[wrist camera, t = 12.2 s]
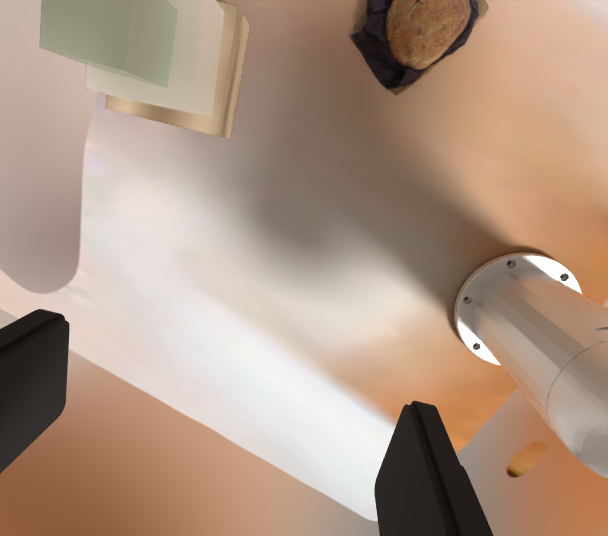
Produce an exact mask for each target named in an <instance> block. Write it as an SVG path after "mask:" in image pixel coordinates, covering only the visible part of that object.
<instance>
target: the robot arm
mask: <svg viewBox="0 0 608 536" xmlns="http://www.w3.org/2000/svg"><path fill="white" fill-rule="evenodd" d="M508 261H509V263H508V264H507V262H508ZM465 297H467V298H466V299H464V298H465ZM454 321H455V326H456V329H457V332H458V334H459V336H460V338H461V339H462V341H463V342H464V344H465V345H466V346H467V347H468V349H469V350H470V351H471V352H472V353H474V354H475V355H477V356H478V357H479V358H481V359H483V360H485V361H488V362H490V363H494V364H498V365H501V367H502V368H503V369H504V370H505V372H506V373H507V374H508V375H509V377H510V378H511V379H512V380H513V382H514V383H515V384H516V385H517V387H518V388H519V389H520V390H521V392H522V393H523V394H524V395H525V397H526V398H527V399H528V400H529V401H530V403H531V404H532V405H533V407H534V408H535V409H536V410H537V412H538V413H539V414H540V415H541V416H542V418H543V419H544V420H545V422H546V423H547V424H548V425H549V427H550V428H551V429H552V430H553V432H554V433H555V434H556V435H557V436H558V437H559V439H560V440H561V441H562V442H563V444H564V445H565V446H566V447H567V448H568V450H569V451H570V452H571V453H572V454H573V455H574V456H575V457H576V458H577V459H578V460H580V461H581V462H582V463H583V464H584V465H586V466H587V467H589V468H590V469H592V470H593V471H595V472H597V473H598V474H600V475H602V476H604V477H606V478H608V308H606V307H605V306H603V305H601V304H599V303H598V302H596V301H594V300H592V299H590V298H589V297H587V296H585V295H583V294H582V292H581V289H580V286H579V283H578V281H577V280H576V278H575V277H574V275H573V274H572V273H571V272H570V271H569V270H568V269H567V268H566V267H565V266H564V265H562V264H560V263H559V262H557V261H556V260H553V259H551V258H549V257H547V256H544V255H540V254H536V253H525V252H520V253H511V254H507V255H503V256H500V257H497V258H495V259H493V260H491V261H489V262H487V263H485V264H484V265H482V266H481V267H479V268H478V269H477V270H475V271H474V272H473V273H472V274H471V275H470V276H469V278H468V279H467V280H466V281H465V283H464V284H463V286H462V287H461V289H460V291H459V294H458V296H457V298H456V302H455V307H454ZM474 343H475V344H474ZM68 346H69V323H68V322H67V321H65V318H64V316H63V315H62V314H59V313H55V312H51V311H47V310H43V309H38V310H35V311H33V312H32V313H30V314H28V315H26V316H24V317H22V318H20V319H18V320H17V321H15V322H13V323H11V324H9V325H7V326H5V327H3V328H1V329H0V473H1V472H2V471H3V470H4V469H5V468H6V467H7V466H9V465H10V464H11V463H12V462H13V461H14V460H15V459H16V458H17V457H18V456H19V455H20V454H21V453H22V452H23V451H24V450H25V449H26V448H27V447H28V446H29V445H30V444H31V443H32V442H33V441H34V440H35V439H36V438H37V437H39V435H41V434H42V433H43V432H44V431H45V430H46V429H47V428H48V427H49V426H50V425H51V424H52V423H53V422H54V421H55V420H56V419H57V418H58V417H59V416H60V415H61V413H62V411H63V409H64V407H65V403H66V385H67V366H68ZM375 501H376V509H377V516H378V524H379V531H380V536H493V534H492V531H491V529H490V526H489V524H488V522H487V519H486V517H485V515H484V512H483V510H482V508H481V505H480V503H479V501H478V498H477V496H476V494H475V491H474V489H473V487H472V484H471V482H470V480H469V477H468V475H467V473H466V471H465V469H464V467H463V466H461V465H460V463H459V461H458V458H457V456H456V453H455V451H454V449H453V446H452V444H451V441H450V439H449V437H448V434H447V432H446V429H445V427H444V424H443V422H442V420H441V417H440V415H439V412H438V410H437V408H436V406H434V405H430V404H426V403H422V402H418V401H413V402H412V403H411V405H407V404H406V405H405V406H404V407H403V409H402V412H401V414H400V417H399V420H398V422H397V425H396V428H395V430H394V433H393V436H392V438H391V441H390V444H389V446H388V449H387V452H386V454H385V457H384V460H383V462H382V465H381V468H380V470H379V473H378V476H377V478H376V482H375Z"/></svg>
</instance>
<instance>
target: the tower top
mask: <svg viewBox="0 0 608 536" xmlns="http://www.w3.org/2000/svg"><path fill="white" fill-rule="evenodd" d="M167 1H168V2H169V3H170V4H171V5H172V6H174V7H175V8H176V9H177V10H178V17H177V24H176V31H175V38H174V45H173V52H172V59H171V66H170V73H169V80H168V87H167V88H165V87H161V86H157V85H154V84H150V83H147V82H143V81H140V80H136V79H133V78H129V77H125V76H122V75H118V74H115V73H111V72H108V71H104V70H100V69H98V68H95V67H92V66H90V65H87V64H86V79H85V80H86V81H85V89H89V90H92V91H96V92H100V93H103V94H107V95H111V96H115V97H119V98H123V99H127V100H132V101H137V102H141V103H146V104H151V105H155V106H160V107H165V108H169V109H174V110H179V111H183V112H188V113H192V114H197V115H202V116H206V117H211V118H212V112H213V104H214V95H215V87H216V79H217V71H218V63H219V54H220V46H221V38H222V30H223V22H224V13H225V12H224V11H223V9H222V8H221V7H220V5H219V4H218V3H217V1H216V0H167Z"/></svg>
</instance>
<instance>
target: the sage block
mask: <svg viewBox="0 0 608 536" xmlns="http://www.w3.org/2000/svg"><path fill="white" fill-rule="evenodd" d="M177 17H178V10H177V9H176V8H175V7H174V6H172V5H171V4H170V3H169V2H168V1H167V0H42V4H41V26H40V47H41V48H43V49H46V50H49V51H51V52H54V53H57V54H60V55H62V56H65V57H68V58H70V59H73V60H76V61H79V62H81V63H84V64H87V65H90V66H92V67H95V68H98V69H100V70H104V71H108V72H111V73H115V74H118V75H122V76H125V77H129V78H133V79H136V80H140V81H143V82H147V83H150V84H154V85H157V86H161V87H165V88H167V87H168V80H169V73H170V66H171V59H172V52H173V45H174V38H175V31H176V24H177Z"/></svg>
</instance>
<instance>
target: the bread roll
mask: <svg viewBox="0 0 608 536" xmlns="http://www.w3.org/2000/svg"><path fill="white" fill-rule="evenodd" d="M487 10H488V4H487V3H486V1H485V0H368V2H367V9H366V11H365V12H364V13H363V14H362V16H361V17H360V18H359V20H358V22H357V23H356V24H355V26H354V29H355V31H357V30H358V29H359V32H358V33H354V34H353V35H351V34H350V38H351V39H352V41H353V43H354V44H355V45H356V47H357V48H358V49H359V51H360V52H361V53H362V55H363V57H364V58H365V60H366V62H367V63H368V65H369V67H370V68H371V70H372V71H373V73H374V75H375V76H376V77H377V79H378V80H379V82H380V83H381V84H382V85H383V86H384V87H386V88H387V89H390V90H391V91H392V92H393V94H395V95H398V94H399V93H401V92H403V91H404V90H406V89H407V88H408V87H410V86H411V85H413V83H415V82H416V81H417V80H419V79H420V78H421V77H423V76H424V75H425V74H427V73H428V72H429V71H430V70H431V69H432V68H433V67H434V66H435V65H437V63H439V62H440V60H442V59H444V57H445V56H447V55H449V54H450V55H451V54H452V53H454V52H455V51H456V50H457V49H458V48H459V47H461V46H463V45H464V44H465V43H466V41H467V38H468V37H469V35H470V34H471V32H472V29H473V27H474V26H475V25H476V24H477V23H478V21H479V20H480V19H481V18H483V17H484V16H485V15H486V13H487Z"/></svg>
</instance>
